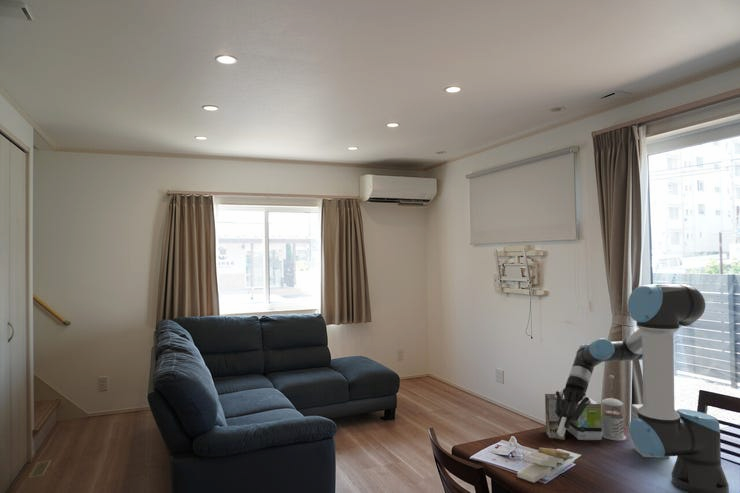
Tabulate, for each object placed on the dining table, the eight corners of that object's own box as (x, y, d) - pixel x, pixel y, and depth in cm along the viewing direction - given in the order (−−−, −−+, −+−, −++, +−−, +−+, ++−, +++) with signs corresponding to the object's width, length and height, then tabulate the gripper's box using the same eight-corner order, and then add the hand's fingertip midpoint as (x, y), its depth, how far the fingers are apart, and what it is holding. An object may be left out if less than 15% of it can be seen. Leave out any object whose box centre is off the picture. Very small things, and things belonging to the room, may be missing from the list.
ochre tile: (553, 448, 180) (538, 447, 172) (569, 453, 176) (554, 452, 168) (553, 453, 180) (538, 452, 172) (569, 458, 175) (554, 457, 168)
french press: (594, 434, 201) (593, 373, 202) (613, 429, 206) (612, 370, 206) (615, 442, 192) (613, 378, 193) (634, 437, 197) (633, 375, 198)
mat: (558, 450, 184) (558, 448, 184) (581, 456, 178) (581, 454, 178) (525, 470, 167) (525, 468, 167) (550, 478, 161) (549, 476, 161)
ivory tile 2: (540, 457, 172) (524, 454, 164) (556, 462, 168) (541, 459, 160) (539, 462, 172) (524, 459, 164) (556, 467, 167) (540, 464, 160)
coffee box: (565, 440, 195) (564, 399, 195) (548, 439, 196) (548, 399, 196) (561, 432, 203) (560, 393, 204) (545, 431, 205) (544, 393, 205)
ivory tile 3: (534, 461, 169) (517, 472, 161) (551, 466, 165) (534, 477, 156) (534, 466, 169) (517, 476, 161) (551, 471, 165) (534, 482, 156)
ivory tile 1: (547, 454, 175) (532, 451, 168) (563, 458, 171) (548, 455, 164) (546, 458, 175) (531, 455, 167) (562, 463, 171) (547, 460, 163)
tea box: (602, 440, 194) (601, 403, 194) (577, 440, 194) (576, 403, 194) (586, 427, 209) (586, 393, 209) (563, 427, 209) (562, 393, 210)
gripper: (598, 389, 185) (581, 444, 173) (565, 383, 195) (546, 435, 183) (592, 377, 182) (574, 433, 170) (558, 372, 191) (539, 424, 179)
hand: (560, 434), depth 176 cm, fingers closed
